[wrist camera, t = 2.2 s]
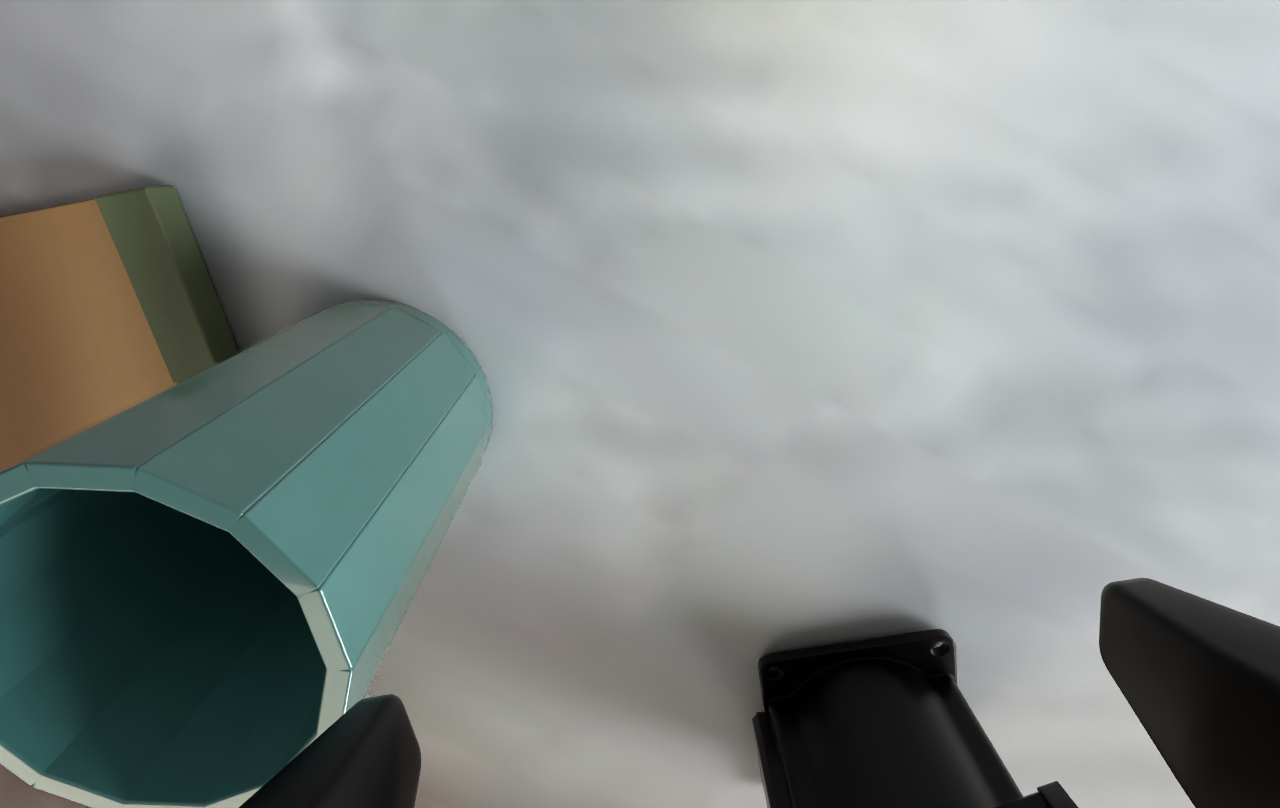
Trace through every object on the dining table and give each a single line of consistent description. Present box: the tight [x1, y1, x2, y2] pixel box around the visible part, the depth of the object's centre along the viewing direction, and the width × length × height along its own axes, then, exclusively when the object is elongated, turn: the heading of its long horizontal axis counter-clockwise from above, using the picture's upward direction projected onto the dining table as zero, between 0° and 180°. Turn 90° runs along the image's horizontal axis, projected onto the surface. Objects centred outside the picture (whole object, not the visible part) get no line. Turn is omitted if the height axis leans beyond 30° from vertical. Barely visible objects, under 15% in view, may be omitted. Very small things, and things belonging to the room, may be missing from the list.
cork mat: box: [0, 185, 238, 468], centre depth 21 cm, size 13×14×1 cm
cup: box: [0, 300, 492, 808], centre depth 15 cm, size 6×6×11 cm
